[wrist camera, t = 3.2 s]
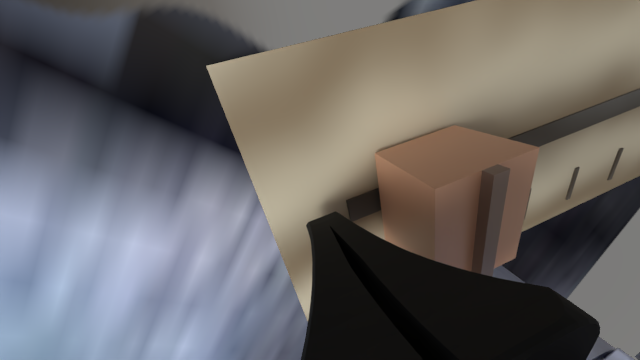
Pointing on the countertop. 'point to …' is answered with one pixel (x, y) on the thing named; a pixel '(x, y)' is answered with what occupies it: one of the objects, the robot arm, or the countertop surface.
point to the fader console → (437, 107)
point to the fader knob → (457, 196)
